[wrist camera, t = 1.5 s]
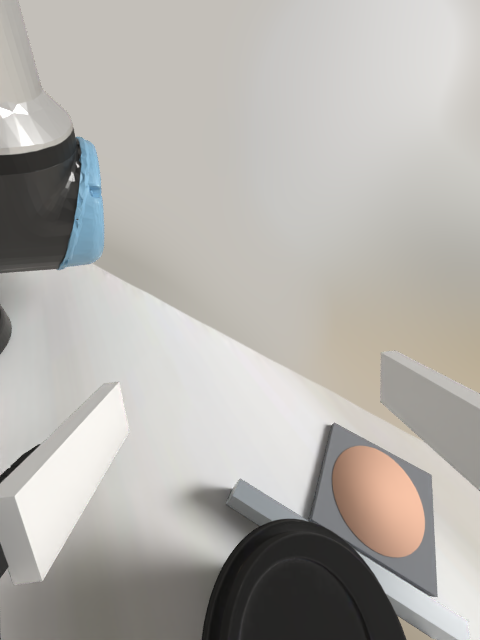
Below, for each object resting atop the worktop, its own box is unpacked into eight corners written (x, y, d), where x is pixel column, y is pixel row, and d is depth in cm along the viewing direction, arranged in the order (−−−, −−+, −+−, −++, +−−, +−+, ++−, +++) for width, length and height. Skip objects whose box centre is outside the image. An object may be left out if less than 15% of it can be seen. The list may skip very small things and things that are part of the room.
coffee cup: (321, 686, 20) (503, 820, 9) (192, 748, 17) (231, 1043, 6) (281, 528, 26) (361, 495, 15) (181, 555, 23) (192, 538, 12)
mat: (309, 520, 27) (312, 519, 26) (331, 425, 34) (334, 422, 33) (431, 596, 24) (438, 596, 24) (426, 476, 32) (432, 474, 31)
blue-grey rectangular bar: (225, 504, 26) (232, 495, 23) (232, 488, 27) (240, 478, 24) (432, 638, 22) (470, 647, 20) (431, 614, 24) (468, 620, 21)
